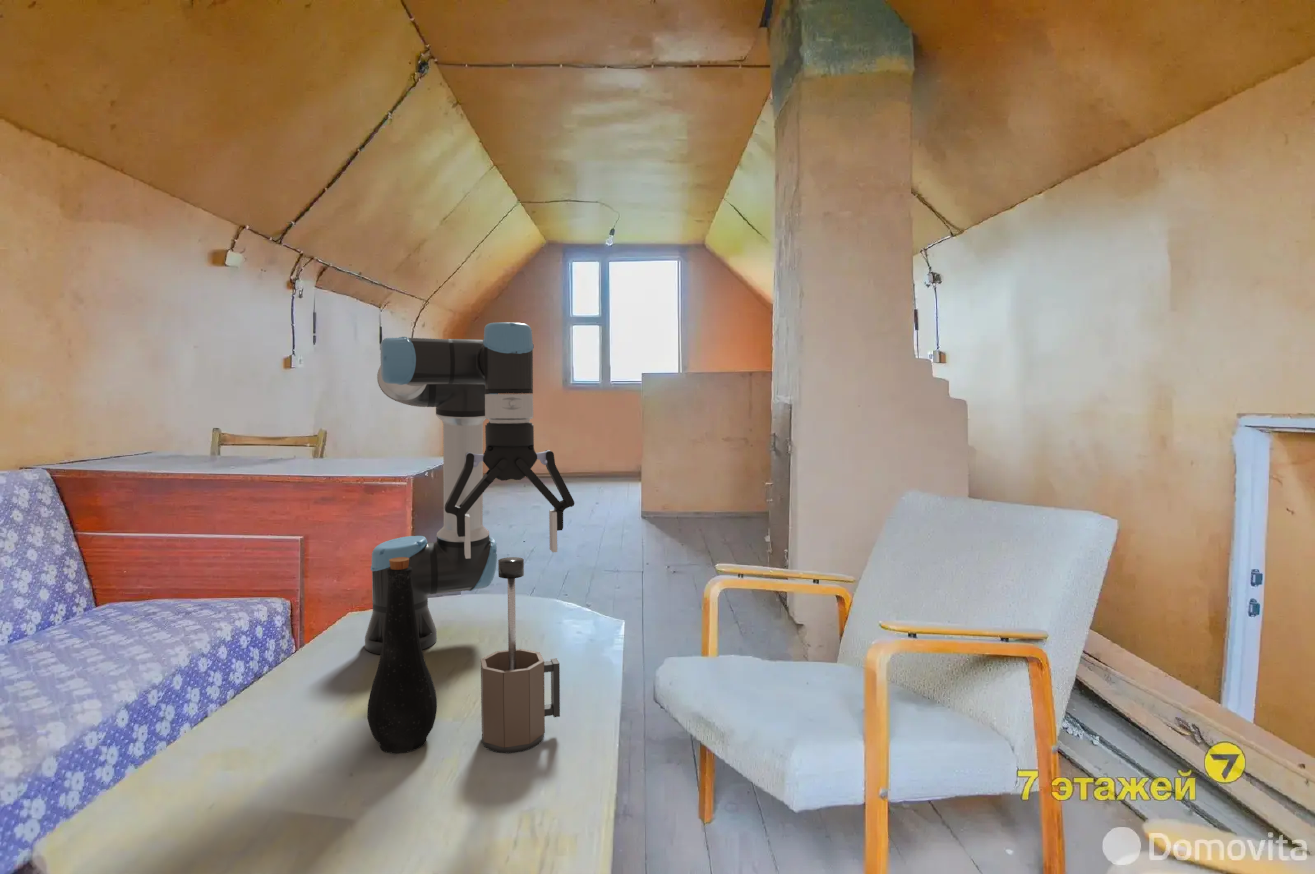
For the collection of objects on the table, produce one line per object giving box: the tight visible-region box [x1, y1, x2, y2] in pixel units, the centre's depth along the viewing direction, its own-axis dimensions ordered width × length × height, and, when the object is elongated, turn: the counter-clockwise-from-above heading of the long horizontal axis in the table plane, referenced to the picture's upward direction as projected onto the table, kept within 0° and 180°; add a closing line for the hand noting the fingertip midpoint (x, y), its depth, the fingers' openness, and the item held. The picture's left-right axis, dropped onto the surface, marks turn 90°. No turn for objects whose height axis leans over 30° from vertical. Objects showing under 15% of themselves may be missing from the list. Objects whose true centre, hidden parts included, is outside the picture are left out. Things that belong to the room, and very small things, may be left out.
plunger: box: [497, 556, 525, 670], centre depth 117 cm, size 7×7×21 cm
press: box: [480, 648, 561, 754], centre depth 118 cm, size 10×12×13 cm
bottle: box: [367, 557, 438, 755], centre depth 116 cm, size 11×11×30 cm
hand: (511, 553), depth 116 cm, fingers open, 13 cm apart
